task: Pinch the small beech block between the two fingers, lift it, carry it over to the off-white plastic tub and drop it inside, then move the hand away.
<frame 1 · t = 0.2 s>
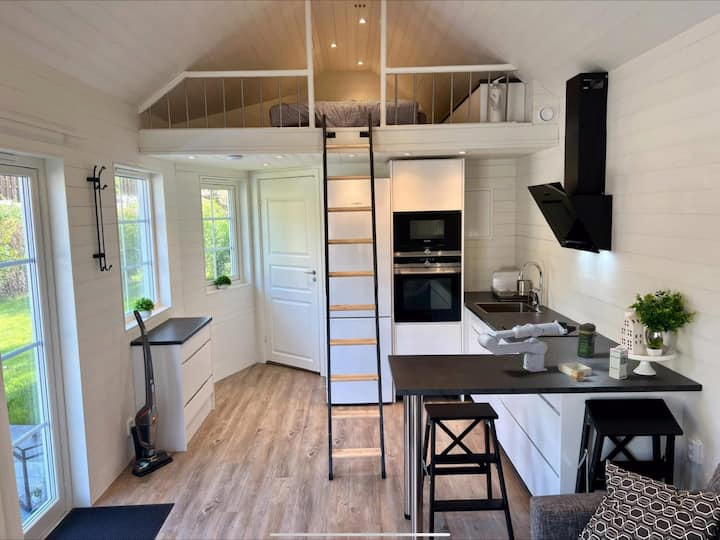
hand: (571, 326, 261), 21 cm above the countertop, tool horizontal, fingers open, 7 cm apart
coffee jar: (585, 356, 282), on the countertop
white tub: (574, 372, 254), on the countertop
beech block: (576, 380, 243), on the countertop
syrup box: (617, 377, 247), on the countertop
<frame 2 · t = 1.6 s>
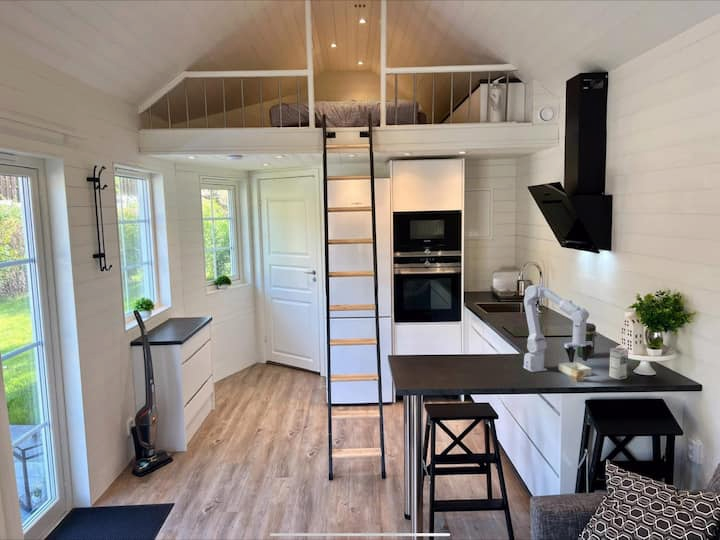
hand: (577, 361, 242), 9 cm above the countertop, tool pointing down, fingers open, 7 cm apart
nothing on the countertop moved.
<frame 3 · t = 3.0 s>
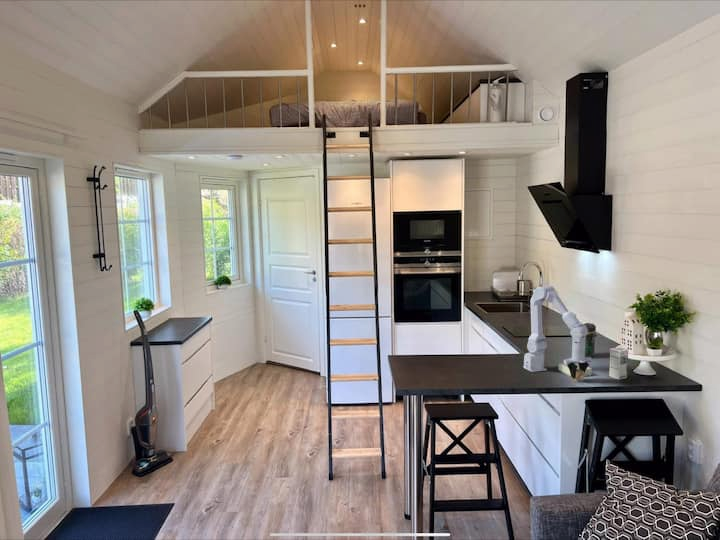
hand: (577, 377, 243), 1 cm above the countertop, tool pointing down, fingers closed on beech block, 4 cm apart
beech block: (576, 380, 243), on the countertop, touching gripper
everything else where it was.
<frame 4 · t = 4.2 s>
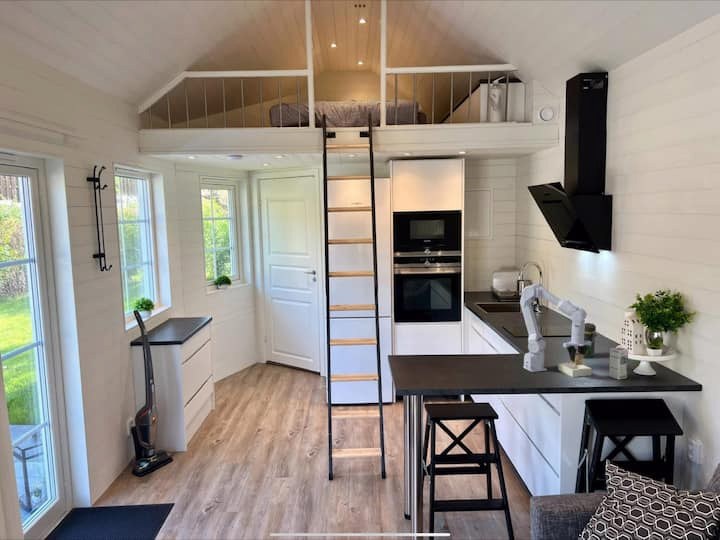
hand: (576, 360, 247), 8 cm above the countertop, tool pointing down, fingers closed on beech block, 4 cm apart
beech block: (576, 363, 247), point 7 cm above the countertop, touching gripper
everything else where it was.
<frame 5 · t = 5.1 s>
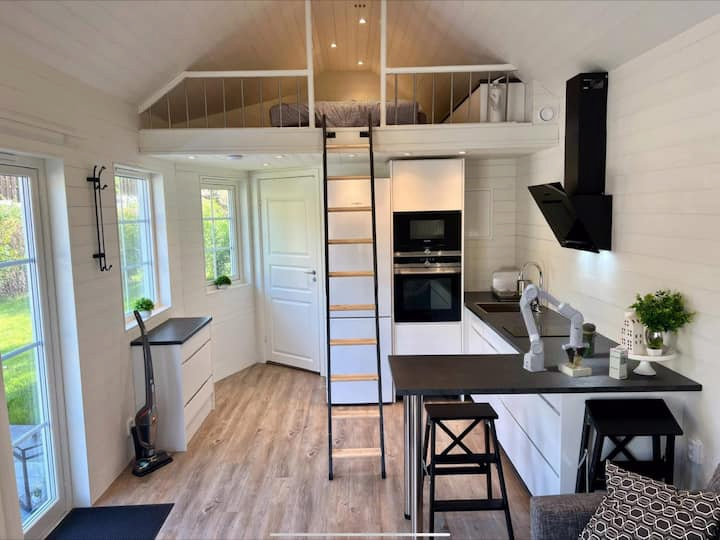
hand: (575, 362, 253), 6 cm above the countertop, tool pointing down, fingers closed on beech block, 4 cm apart
beech block: (575, 365, 253), point 4 cm above the countertop, touching gripper
everything else where it was.
when the fingers open (4 cm above the countertop, at t = 5.7 s): beech block drops 2 cm, resting on white tub.
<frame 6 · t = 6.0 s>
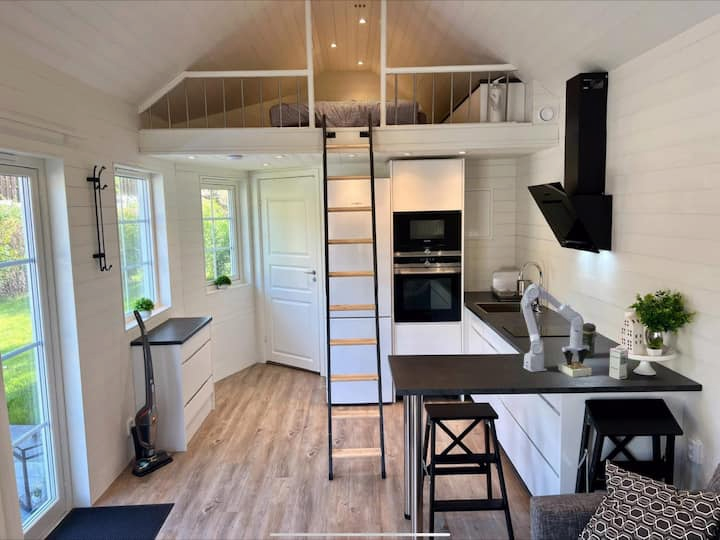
hand: (574, 364, 253), 4 cm above the countertop, tool pointing down, fingers open, 6 cm apart
beech block: (574, 371, 253), point 1 cm above the countertop, touching white tub
everything else where it was.
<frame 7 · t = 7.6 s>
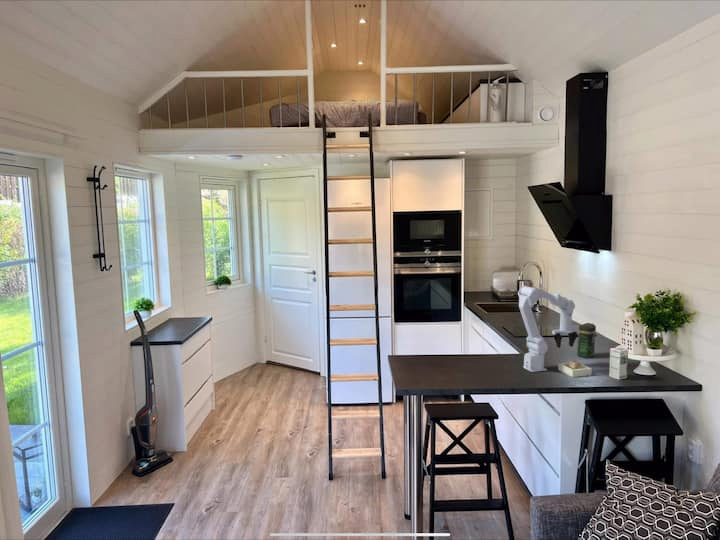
hand: (564, 346, 265), 10 cm above the countertop, tool pointing down, fingers open, 7 cm apart
nothing on the countertop moved.
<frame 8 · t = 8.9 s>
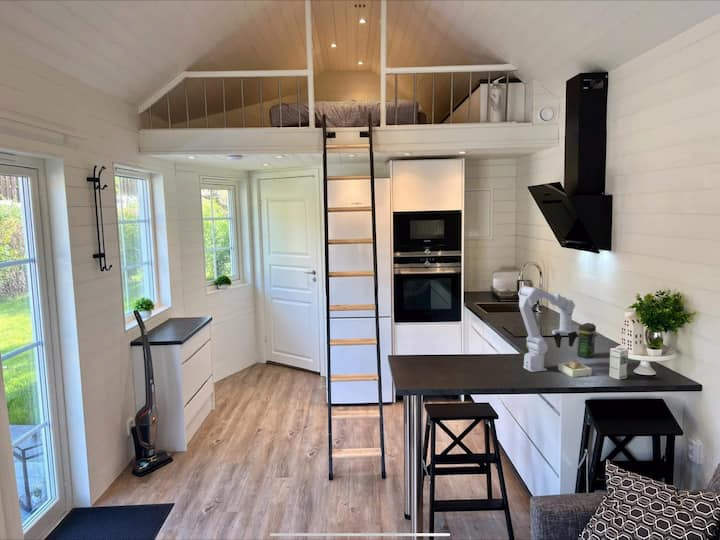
hand: (564, 346, 265), 10 cm above the countertop, tool pointing down, fingers open, 7 cm apart
nothing on the countertop moved.
at the end: beech block inside the target area on the white tub (0.2 cm from its centre), point 0.6 cm above the white tub's base; the gripper is holding nothing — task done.
